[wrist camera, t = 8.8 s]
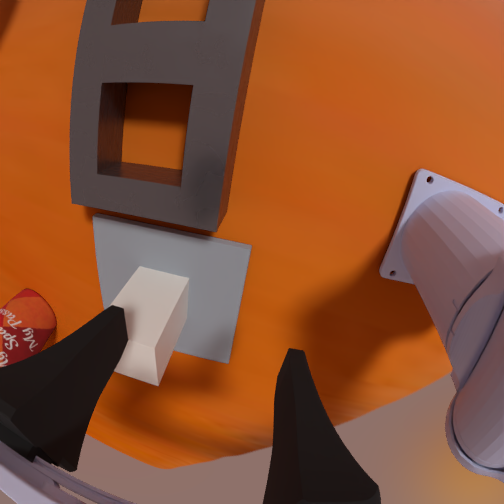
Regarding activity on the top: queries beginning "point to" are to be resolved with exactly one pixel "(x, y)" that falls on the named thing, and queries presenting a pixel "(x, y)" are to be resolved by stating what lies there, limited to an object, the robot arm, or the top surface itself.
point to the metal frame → (161, 71)
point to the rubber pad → (182, 264)
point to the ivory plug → (151, 322)
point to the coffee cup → (24, 326)
